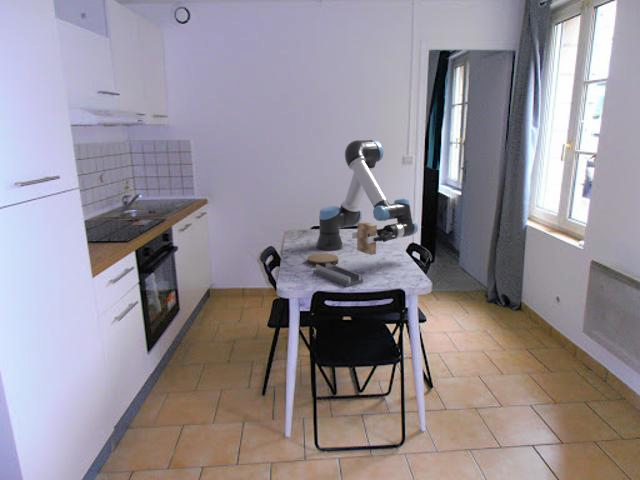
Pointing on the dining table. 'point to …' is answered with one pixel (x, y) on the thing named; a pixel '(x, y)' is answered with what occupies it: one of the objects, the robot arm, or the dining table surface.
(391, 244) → the dining table surface
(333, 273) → the track
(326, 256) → the wood log slice
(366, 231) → the door
